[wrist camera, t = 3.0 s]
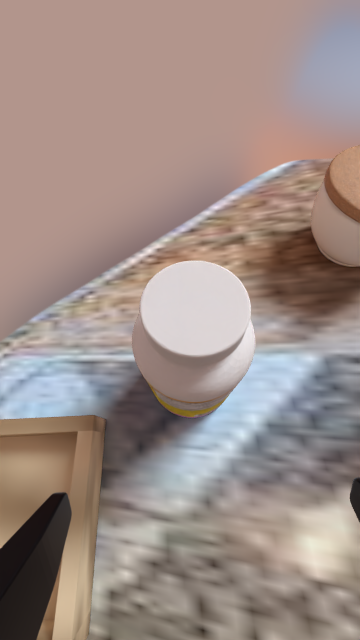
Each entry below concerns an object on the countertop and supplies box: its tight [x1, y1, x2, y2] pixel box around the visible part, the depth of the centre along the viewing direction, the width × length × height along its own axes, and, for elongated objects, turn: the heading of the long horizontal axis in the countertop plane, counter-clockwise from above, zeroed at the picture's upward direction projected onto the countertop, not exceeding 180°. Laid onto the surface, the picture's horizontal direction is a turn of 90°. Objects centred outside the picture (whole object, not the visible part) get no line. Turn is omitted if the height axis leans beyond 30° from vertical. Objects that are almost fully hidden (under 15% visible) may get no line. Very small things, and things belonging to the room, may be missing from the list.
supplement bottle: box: [132, 261, 255, 418], centre depth 16 cm, size 7×7×13 cm
